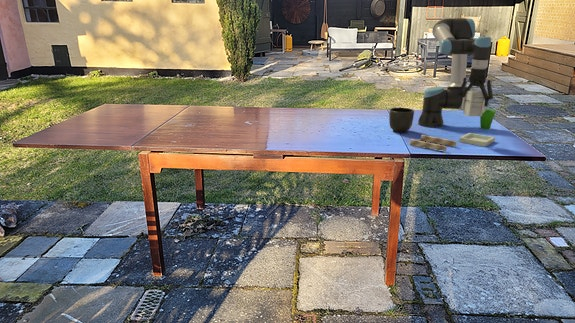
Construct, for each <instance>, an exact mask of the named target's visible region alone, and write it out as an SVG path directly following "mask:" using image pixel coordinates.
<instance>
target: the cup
mask: <svg viewBox="0 0 575 323" xmlns="http://www.w3.org/2000/svg"><path fill="white" fill-rule="evenodd" d="M496 113H497V111H496V110H493V109H486V108H485V112H484V113H482V116H479V118H480V119H479V123H480V129H482V130H486V131H488V130H490V129H491V125H492V124H493V120H494V117H495V114H496Z"/></svg>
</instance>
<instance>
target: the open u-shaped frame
mask: <svg viewBox="0 0 575 323" xmlns="http://www.w3.org/2000/svg"><path fill="white" fill-rule="evenodd" d="M425 141H426V142H425ZM430 142H431V143H430ZM409 143H410V144H409V145H410V146H411V145H412V147H416V146H418V147H417V148H421V147H425V148H424V149H426V148H431V149H437V150H443V151H446V152H447V148H448V147H450V146H453V147H452V148H456V147H457V140H456V141H455V140H451V139H447V138H441V137H436V136H435V137H434V136H430V135H425V134H421V136H420V139H412V138H411V139H410V141H409ZM435 143H437V144H435ZM440 144H443V145H440ZM445 145H448V146H445ZM455 146H456V147H455Z"/></svg>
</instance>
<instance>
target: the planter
mask: <svg viewBox="0 0 575 323" xmlns="http://www.w3.org/2000/svg"><path fill="white" fill-rule="evenodd" d="M414 115H415V110H414V109H413V108H410V107H391V108H390V109H389V115H388V116H389V118H388V122H389V127H390V129H392V132H394V133H398V134H399V133H401V134H403V133H404V134H405V133H407V132H408V131H409V130H410V129H411V128H412V125H413V120H414Z"/></svg>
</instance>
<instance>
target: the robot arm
mask: <svg viewBox="0 0 575 323" xmlns="http://www.w3.org/2000/svg"><path fill="white" fill-rule="evenodd" d="M432 35H433V37H434V38H435V39H436V40H438V42H439V47H438V50H439V53H440V54H441V55H451V67H450V68H451V69H450V70H451V71H450V82H449V85H447V87H446V88H447V89H445V87H443V86H434V87H428V88H426V89H425V90H424V92H423V101H422V110H421V113H420V116H419V118H418V119H417V120H418V121H417V122H418V124H417V125H419V126H422V127H428V128H441V127H443V126H444V117H443V114H442V112H443V109H448V110H449V109H450V110H462V111H463V109H464V102H465V96H466V93H467V91H469V90H471V89H472V88H473V87H478V88H479V89H480V91H481V92H482V93H483V96H484V98H485V100H483V105H482V112H481V113H484V112H485V109H486V107H488V105H489V101H490V100H492V99H494V94H493V88H492V83H493V80H492V79H487V72H488V65H489V57H490V52H491V46H492V38H491V37H490V36H477V37H475V35H476V23H475V21H474V19H473V18H467V17H461V18H460V17H459V18H450V17H448V18H443V19H440V20H439V21H437V22H436V23H435V24H434V25H433V27H432ZM474 38H475V39H474ZM468 55H472V59H471V60H472V61H471V69H470V75H469V77H468V76H467V66H468V64H467V63H468ZM466 76H467V77H466ZM468 82H470V83H469V84H468ZM467 84H468V85H467ZM485 84H486V88H485ZM486 89H487V90H486Z"/></svg>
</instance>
